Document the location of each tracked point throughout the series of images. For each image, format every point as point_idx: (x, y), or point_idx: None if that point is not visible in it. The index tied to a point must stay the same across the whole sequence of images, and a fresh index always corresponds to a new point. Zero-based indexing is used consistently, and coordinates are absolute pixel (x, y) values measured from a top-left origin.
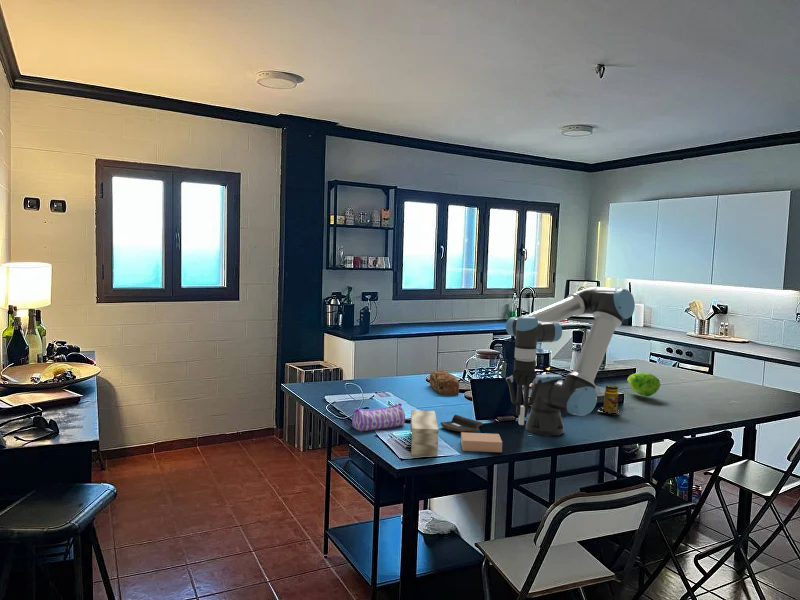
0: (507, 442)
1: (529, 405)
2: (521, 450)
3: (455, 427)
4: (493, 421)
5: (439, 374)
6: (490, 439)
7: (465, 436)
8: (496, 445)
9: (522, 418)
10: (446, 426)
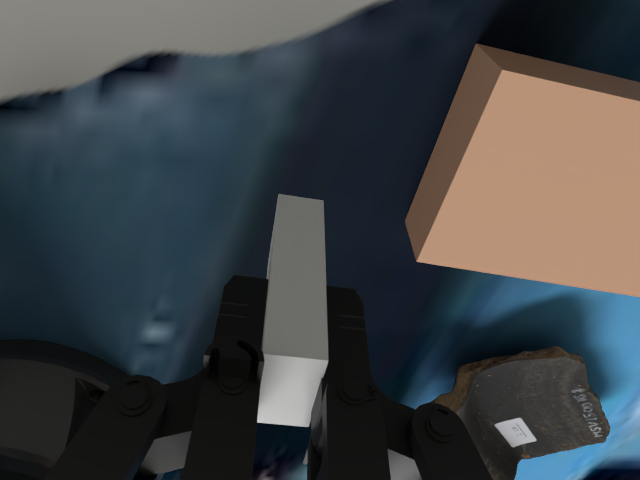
0: (337, 234)
1: (174, 386)
2: (301, 75)
3: (566, 394)
4: (286, 474)
5: None
6: (555, 150)
7: None
8: (536, 71)
9: (295, 242)
10: (600, 407)
